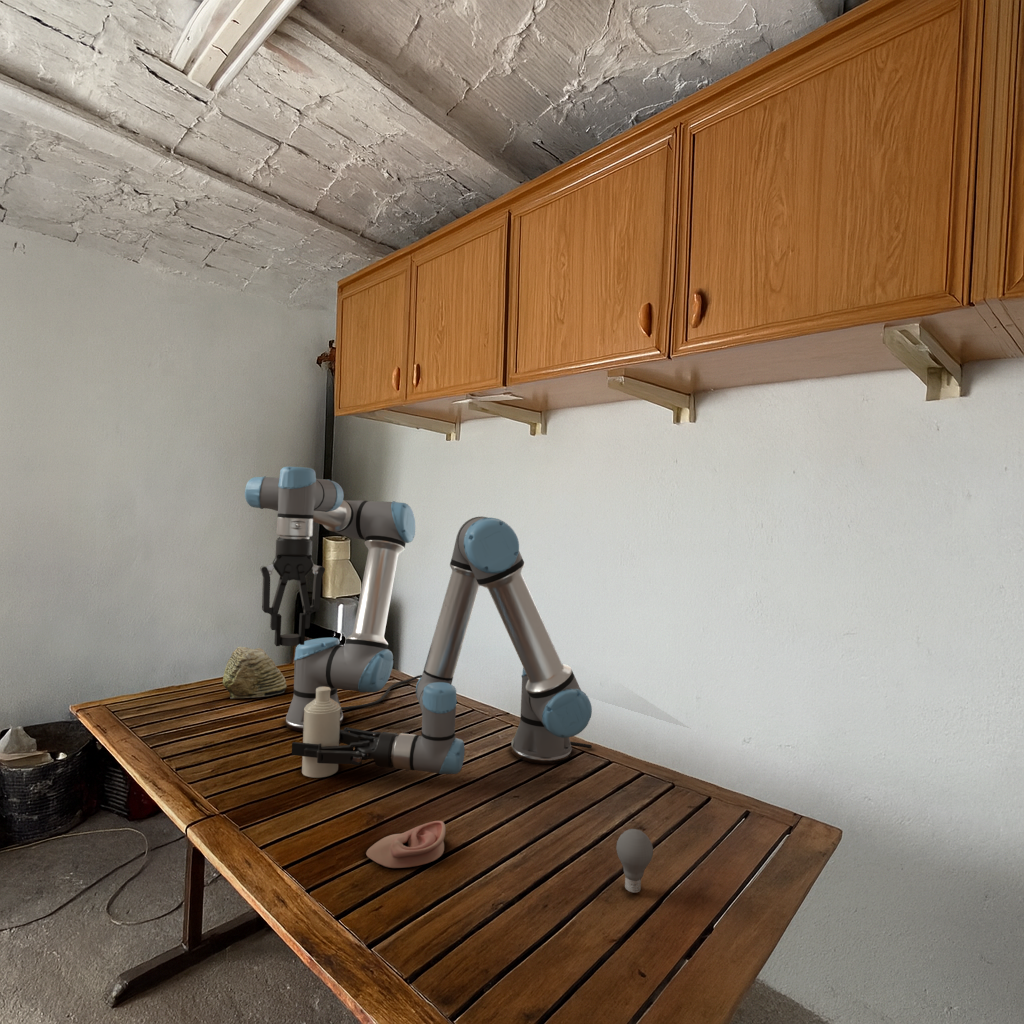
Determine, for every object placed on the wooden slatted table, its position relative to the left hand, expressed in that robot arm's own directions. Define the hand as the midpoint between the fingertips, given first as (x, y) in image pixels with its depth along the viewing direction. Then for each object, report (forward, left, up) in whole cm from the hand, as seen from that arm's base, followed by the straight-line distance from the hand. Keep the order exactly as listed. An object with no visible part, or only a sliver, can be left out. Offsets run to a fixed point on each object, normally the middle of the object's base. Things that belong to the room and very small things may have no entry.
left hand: (289, 643), depth 138 cm
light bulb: (-18, +76, -31) cm, 84 cm away
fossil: (-27, -61, -31) cm, 73 cm away
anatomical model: (0, +40, -31) cm, 50 cm away
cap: (0, 0, +1) cm, 1 cm away
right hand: (-7, -4, -25) cm, 26 cm away
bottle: (-9, 0, -31) cm, 32 cm away
